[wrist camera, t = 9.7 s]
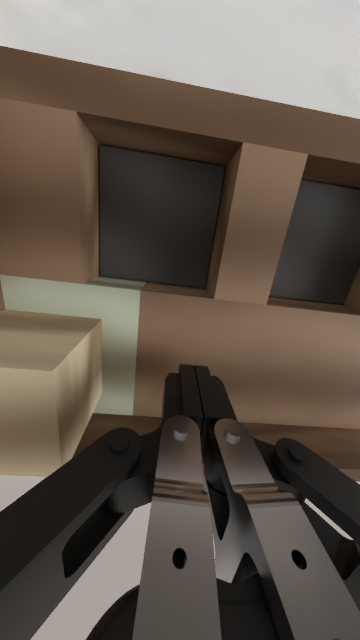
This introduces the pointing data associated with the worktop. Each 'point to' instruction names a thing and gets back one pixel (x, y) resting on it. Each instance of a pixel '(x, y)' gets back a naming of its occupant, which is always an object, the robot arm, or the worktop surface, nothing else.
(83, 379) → the maple block
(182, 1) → the worktop surface
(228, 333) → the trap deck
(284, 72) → the worktop surface
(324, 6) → the worktop surface
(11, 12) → the worktop surface
